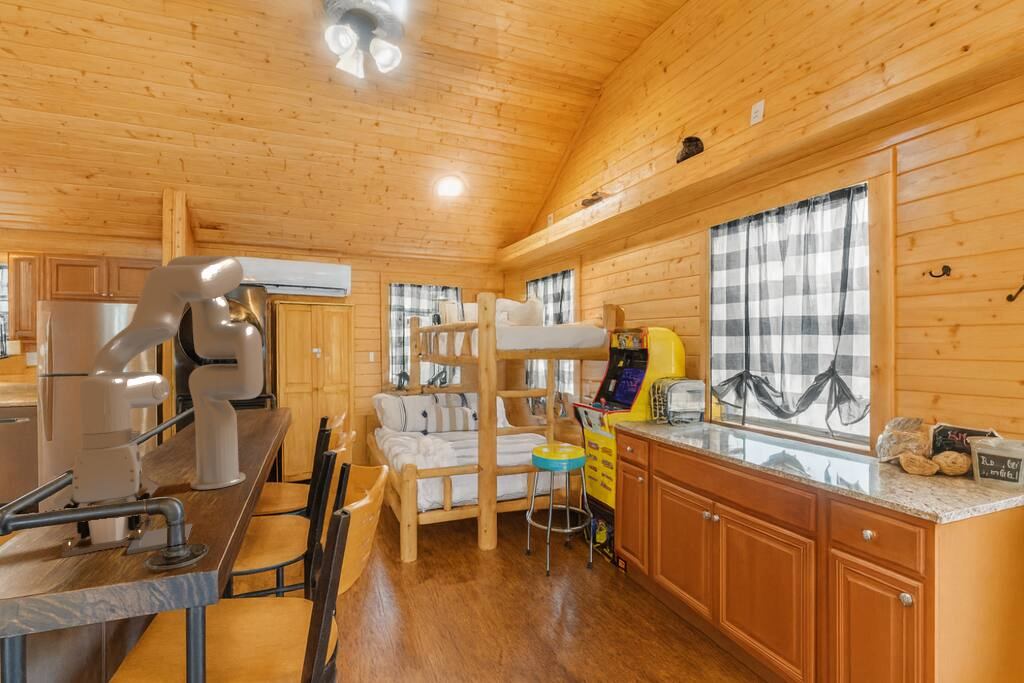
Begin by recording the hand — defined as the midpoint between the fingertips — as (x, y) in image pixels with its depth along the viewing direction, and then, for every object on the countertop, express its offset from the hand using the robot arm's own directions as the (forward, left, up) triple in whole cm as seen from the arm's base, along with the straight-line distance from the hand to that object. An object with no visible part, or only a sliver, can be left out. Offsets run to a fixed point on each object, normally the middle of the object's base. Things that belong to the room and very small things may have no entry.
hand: (110, 531), depth 95 cm
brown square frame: (0, 0, -2) cm, 2 cm away
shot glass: (0, 0, -2) cm, 2 cm away
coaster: (+6, +9, -2) cm, 11 cm away
